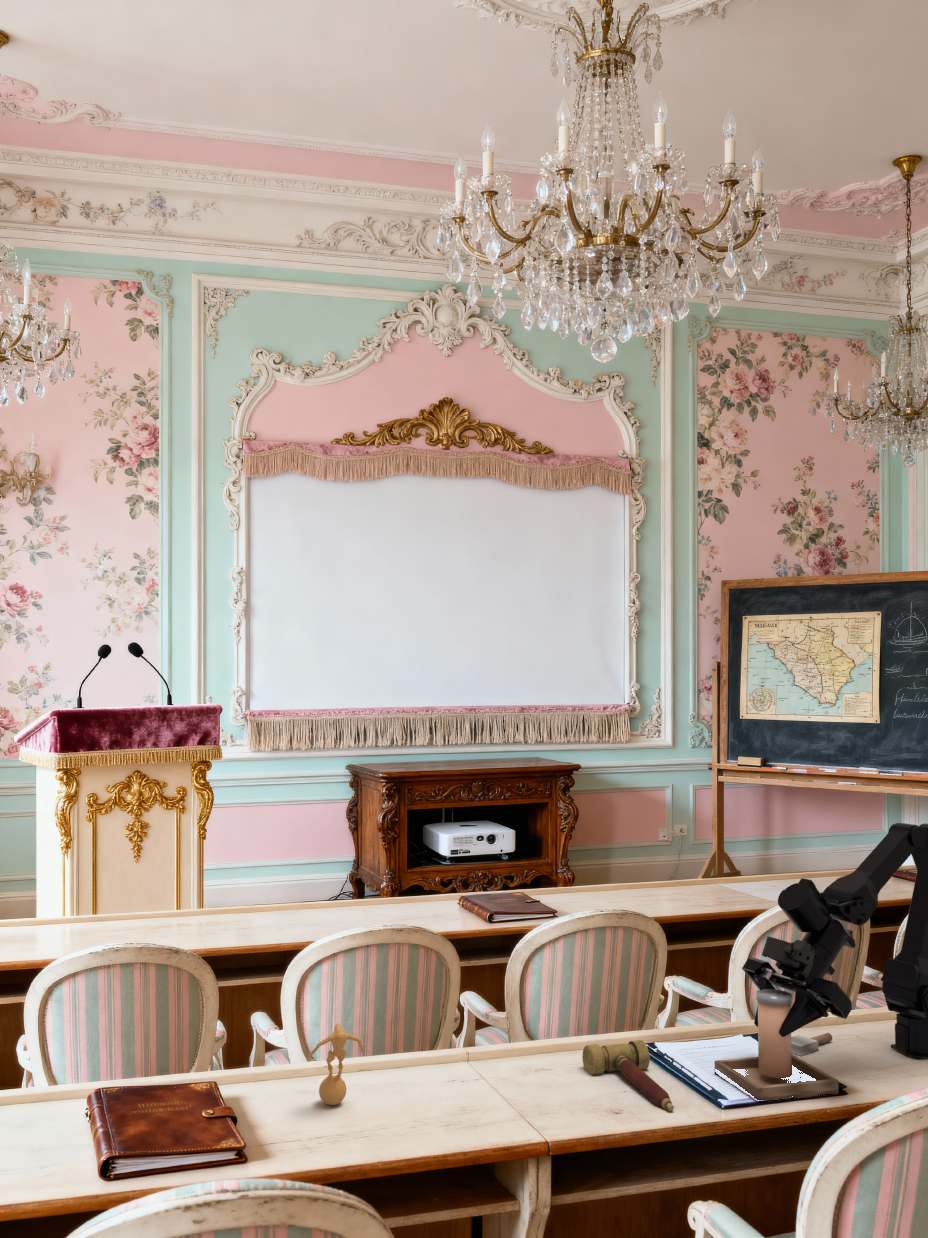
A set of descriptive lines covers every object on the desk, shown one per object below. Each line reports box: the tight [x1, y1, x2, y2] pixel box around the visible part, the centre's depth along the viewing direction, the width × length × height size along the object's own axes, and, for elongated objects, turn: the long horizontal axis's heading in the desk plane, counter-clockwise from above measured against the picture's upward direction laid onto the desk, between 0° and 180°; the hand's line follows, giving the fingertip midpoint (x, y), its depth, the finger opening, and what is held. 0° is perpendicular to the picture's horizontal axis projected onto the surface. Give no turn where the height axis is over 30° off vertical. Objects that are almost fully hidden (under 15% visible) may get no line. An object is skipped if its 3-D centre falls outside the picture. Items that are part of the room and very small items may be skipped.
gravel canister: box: [755, 989, 793, 1078], centre depth 164 cm, size 5×5×12 cm
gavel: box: [581, 1039, 675, 1112], centre depth 162 cm, size 21×5×10 cm
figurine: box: [307, 1023, 365, 1106], centre depth 152 cm, size 8×6×12 cm
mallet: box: [791, 1032, 833, 1057], centre depth 182 cm, size 11×4×2 cm, turn 127°
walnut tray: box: [714, 1054, 839, 1101], centre depth 164 cm, size 14×13×2 cm
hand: (768, 1030), depth 164 cm, fingers closed on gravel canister, 5 cm apart
